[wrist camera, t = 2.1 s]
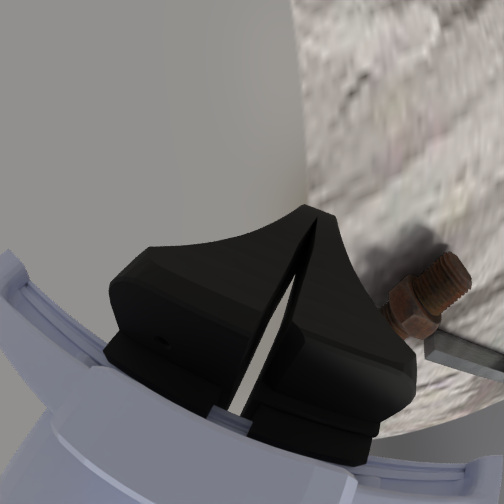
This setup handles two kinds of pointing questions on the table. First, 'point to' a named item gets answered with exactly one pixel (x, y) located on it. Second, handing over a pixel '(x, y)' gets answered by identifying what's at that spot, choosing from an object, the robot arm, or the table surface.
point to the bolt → (426, 297)
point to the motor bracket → (464, 356)
